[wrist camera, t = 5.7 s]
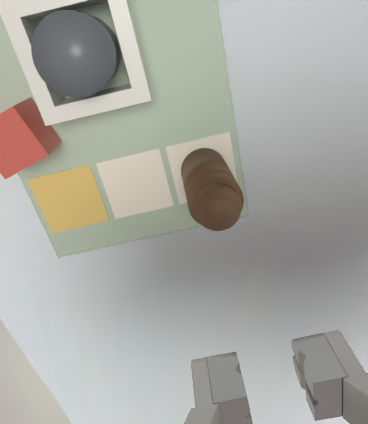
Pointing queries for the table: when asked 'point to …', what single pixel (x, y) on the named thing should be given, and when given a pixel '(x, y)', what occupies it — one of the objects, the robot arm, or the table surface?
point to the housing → (57, 103)
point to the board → (134, 133)
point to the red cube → (24, 137)
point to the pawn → (211, 190)
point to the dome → (75, 53)
